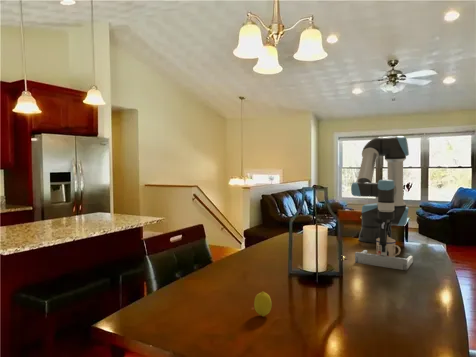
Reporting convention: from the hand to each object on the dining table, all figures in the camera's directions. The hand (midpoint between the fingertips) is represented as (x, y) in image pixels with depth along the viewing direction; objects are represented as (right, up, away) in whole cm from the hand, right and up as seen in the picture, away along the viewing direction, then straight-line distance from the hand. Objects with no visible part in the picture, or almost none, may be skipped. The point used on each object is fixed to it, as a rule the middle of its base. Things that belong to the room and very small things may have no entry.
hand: (385, 256), depth 171 cm
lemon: (-66, -5, -62) cm, 91 cm away
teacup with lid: (+1, -1, -1) cm, 2 cm away
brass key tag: (-20, -2, +3) cm, 21 cm away
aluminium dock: (-2, -2, -3) cm, 5 cm away
